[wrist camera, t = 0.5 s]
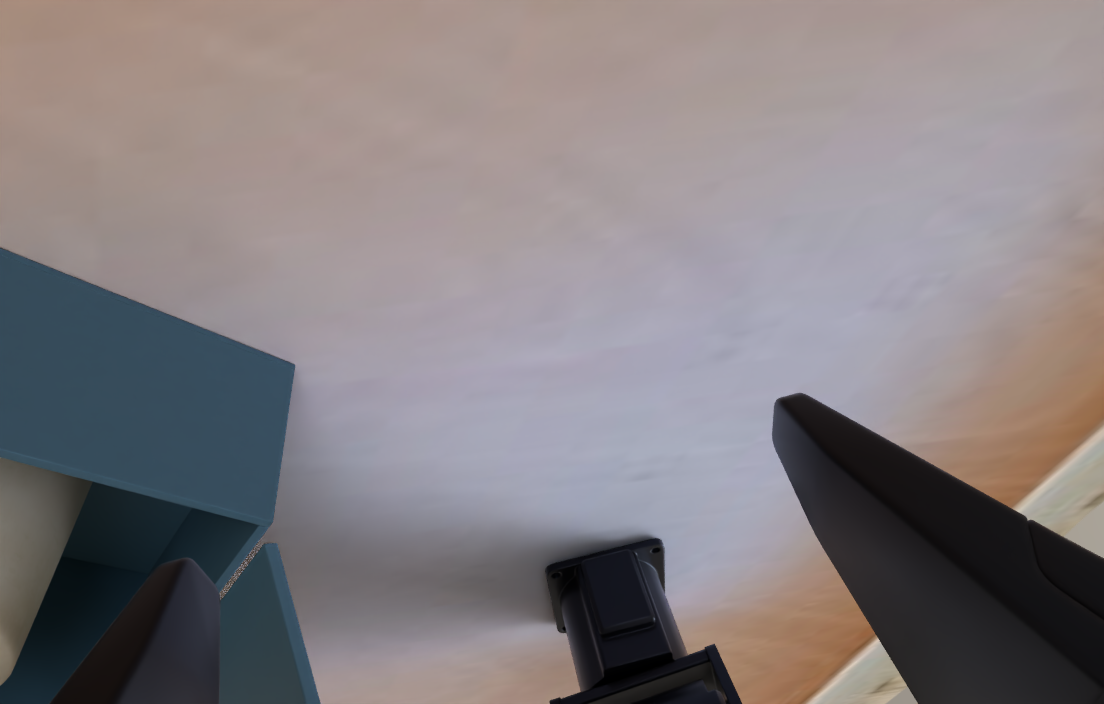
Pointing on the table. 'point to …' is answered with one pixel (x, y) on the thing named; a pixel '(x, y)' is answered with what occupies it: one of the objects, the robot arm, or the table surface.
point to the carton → (130, 450)
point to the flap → (263, 638)
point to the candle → (31, 545)
